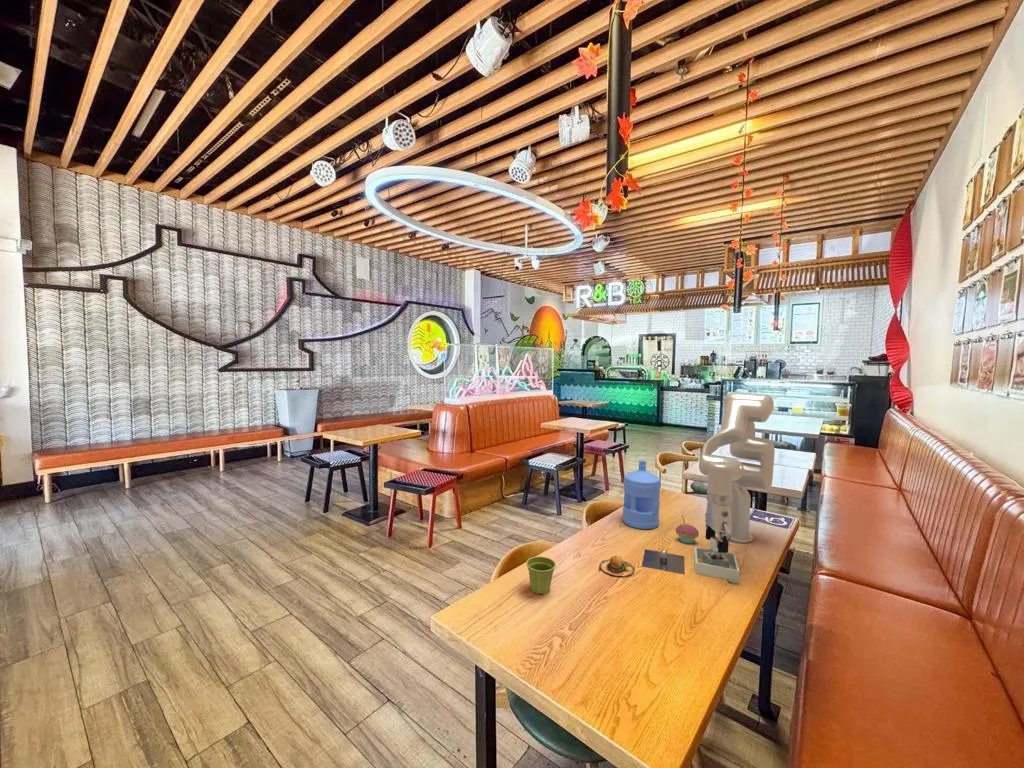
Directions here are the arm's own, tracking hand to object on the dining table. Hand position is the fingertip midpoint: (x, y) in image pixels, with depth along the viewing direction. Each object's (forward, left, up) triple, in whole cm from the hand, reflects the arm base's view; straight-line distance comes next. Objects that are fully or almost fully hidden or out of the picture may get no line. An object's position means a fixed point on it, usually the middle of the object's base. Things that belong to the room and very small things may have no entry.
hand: (716, 545), depth 146 cm
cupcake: (-20, -9, -9) cm, 24 cm away
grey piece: (0, 0, -8) cm, 9 cm away
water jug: (-33, -28, -9) cm, 44 cm away
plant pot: (+35, -53, -9) cm, 64 cm away
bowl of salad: (+14, -32, -10) cm, 36 cm away
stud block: (+2, -17, -9) cm, 19 cm away
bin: (0, 0, -9) cm, 9 cm away
